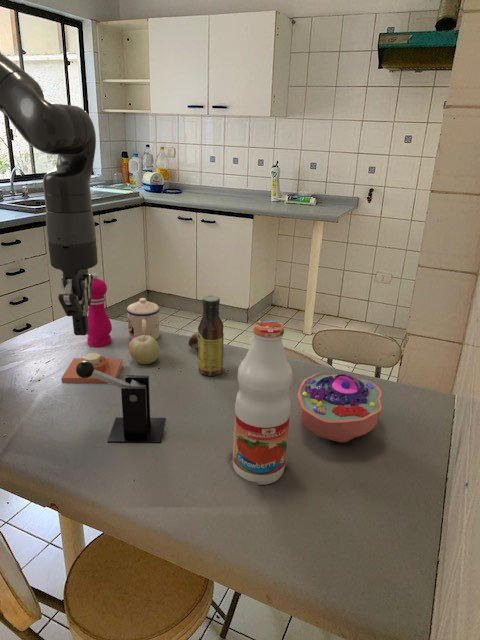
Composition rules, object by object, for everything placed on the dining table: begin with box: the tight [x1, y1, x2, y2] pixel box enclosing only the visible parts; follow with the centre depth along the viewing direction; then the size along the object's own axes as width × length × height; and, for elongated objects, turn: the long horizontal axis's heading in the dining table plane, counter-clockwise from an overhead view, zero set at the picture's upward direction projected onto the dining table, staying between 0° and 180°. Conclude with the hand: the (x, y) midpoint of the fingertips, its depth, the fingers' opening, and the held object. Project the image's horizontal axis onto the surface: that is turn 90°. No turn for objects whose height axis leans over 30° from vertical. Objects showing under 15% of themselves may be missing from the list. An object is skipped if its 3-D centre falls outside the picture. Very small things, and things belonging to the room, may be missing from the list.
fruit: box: [128, 334, 160, 365], centre depth 118 cm, size 8×7×8 cm
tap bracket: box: [107, 374, 166, 444], centre depth 89 cm, size 10×8×12 cm
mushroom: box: [188, 331, 198, 350], centre depth 126 cm, size 8×8×6 cm
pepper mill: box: [86, 272, 113, 348], centre depth 125 cm, size 7×7×20 cm
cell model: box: [296, 372, 383, 444], centre depth 93 cm, size 17×20×11 cm
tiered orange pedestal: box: [60, 355, 124, 385], centre depth 111 cm, size 12×10×4 cm
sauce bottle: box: [197, 294, 225, 377], centre depth 112 cm, size 7×6×20 cm
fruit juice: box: [232, 319, 294, 486], centre depth 78 cm, size 9×9×28 cm
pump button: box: [83, 352, 101, 365], centre depth 110 cm, size 4×4×2 cm
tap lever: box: [76, 361, 146, 389], centre depth 86 cm, size 13×3×3 cm, turn 93°
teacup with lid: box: [126, 297, 160, 341], centre depth 130 cm, size 12×9×12 cm
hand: (81, 333), depth 83 cm, fingers closed
